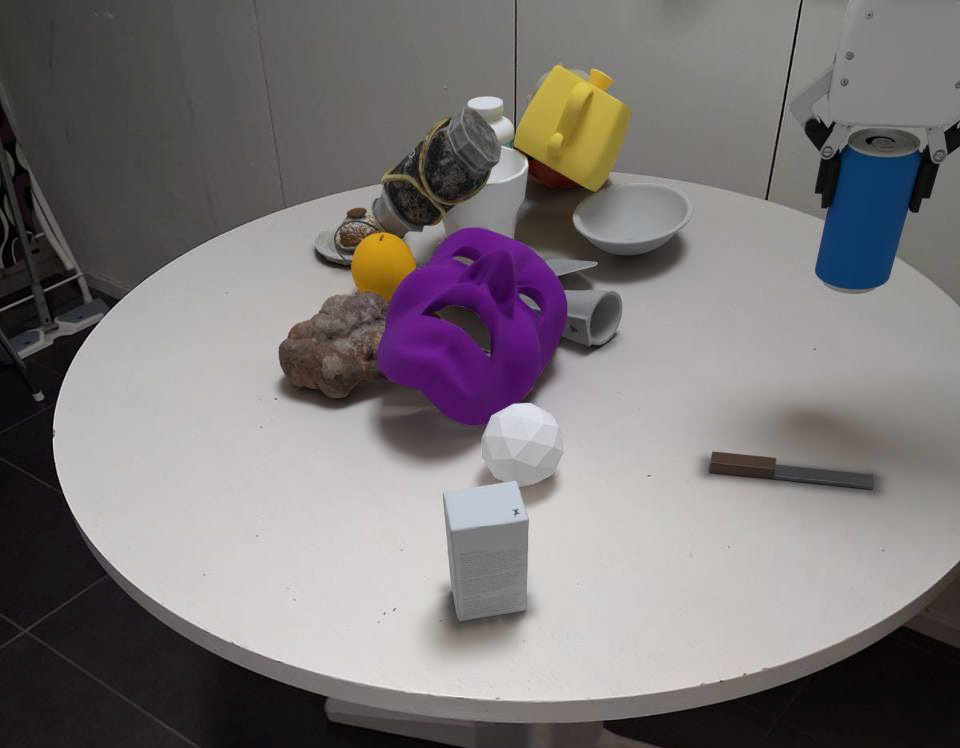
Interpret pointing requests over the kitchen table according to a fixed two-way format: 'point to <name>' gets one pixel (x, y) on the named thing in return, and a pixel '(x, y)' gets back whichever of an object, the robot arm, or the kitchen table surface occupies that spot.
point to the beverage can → (868, 209)
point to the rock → (337, 344)
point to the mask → (494, 298)
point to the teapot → (575, 126)
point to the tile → (568, 265)
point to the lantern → (436, 175)
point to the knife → (784, 471)
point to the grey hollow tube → (588, 315)
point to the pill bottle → (494, 118)
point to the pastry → (345, 236)
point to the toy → (539, 169)
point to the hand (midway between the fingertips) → (869, 202)
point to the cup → (493, 200)
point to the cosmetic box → (487, 549)
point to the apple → (381, 264)
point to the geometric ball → (522, 444)
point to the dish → (632, 217)
